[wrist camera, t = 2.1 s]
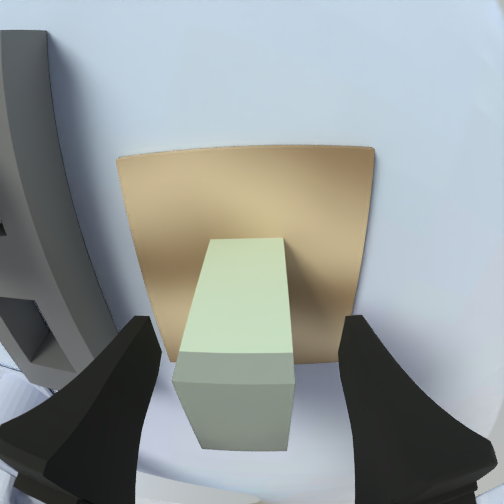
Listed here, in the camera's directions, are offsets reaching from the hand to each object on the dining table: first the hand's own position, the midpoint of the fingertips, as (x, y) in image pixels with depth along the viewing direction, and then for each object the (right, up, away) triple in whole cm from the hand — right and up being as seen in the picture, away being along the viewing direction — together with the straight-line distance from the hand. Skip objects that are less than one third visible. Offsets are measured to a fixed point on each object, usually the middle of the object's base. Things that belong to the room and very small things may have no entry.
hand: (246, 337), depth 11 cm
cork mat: (0, +2, +3) cm, 4 cm away
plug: (0, +2, +3) cm, 3 cm away
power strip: (-12, +4, +3) cm, 13 cm away
